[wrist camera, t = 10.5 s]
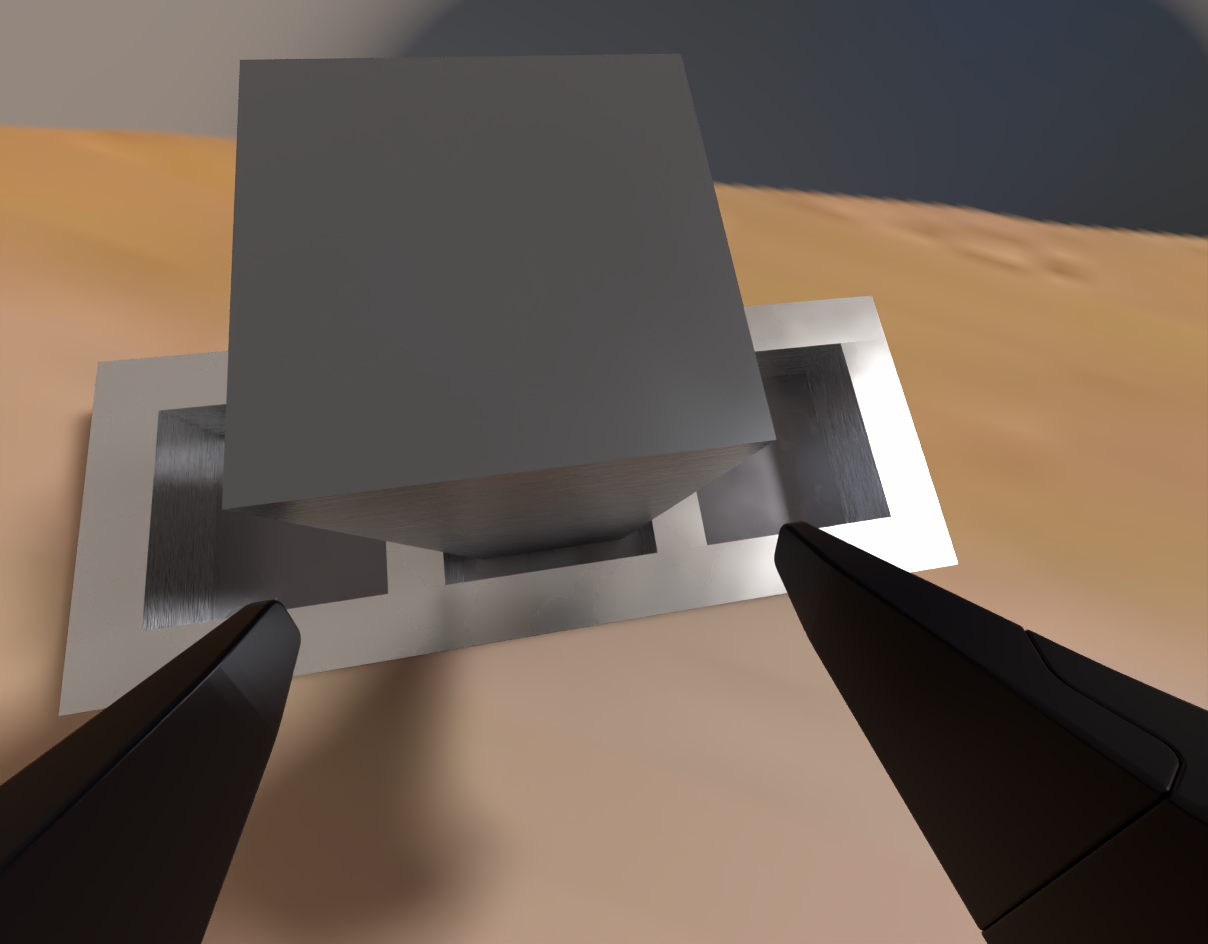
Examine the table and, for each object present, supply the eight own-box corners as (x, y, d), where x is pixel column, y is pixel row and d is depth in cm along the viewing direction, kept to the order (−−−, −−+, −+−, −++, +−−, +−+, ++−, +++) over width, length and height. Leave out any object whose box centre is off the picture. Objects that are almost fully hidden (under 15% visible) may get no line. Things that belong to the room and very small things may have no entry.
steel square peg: (622, 539, 16) (776, 440, 4) (482, 559, 15) (222, 508, 4) (601, 411, 17) (680, 53, 5) (470, 425, 16) (240, 59, 5)
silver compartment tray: (825, 337, 19) (871, 295, 16) (891, 565, 17) (958, 564, 14) (181, 400, 16) (98, 362, 13) (162, 687, 14) (58, 716, 11)
